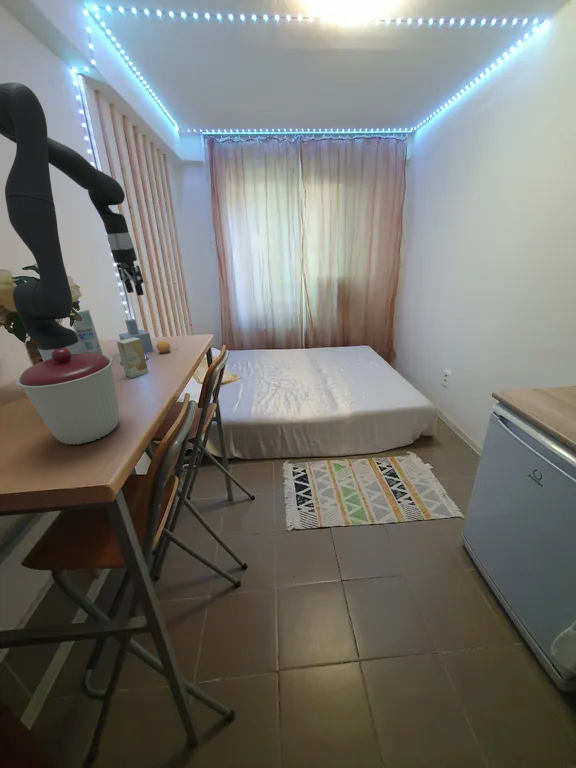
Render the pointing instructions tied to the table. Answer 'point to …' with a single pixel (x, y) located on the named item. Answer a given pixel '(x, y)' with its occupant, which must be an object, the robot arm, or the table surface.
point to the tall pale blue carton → (87, 333)
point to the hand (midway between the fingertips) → (135, 293)
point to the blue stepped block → (137, 335)
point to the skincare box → (132, 357)
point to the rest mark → (145, 359)
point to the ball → (163, 346)
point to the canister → (73, 395)
